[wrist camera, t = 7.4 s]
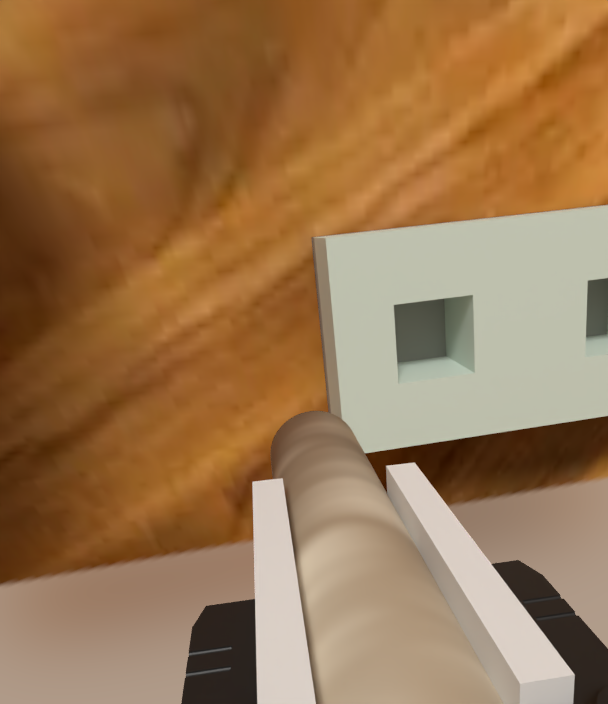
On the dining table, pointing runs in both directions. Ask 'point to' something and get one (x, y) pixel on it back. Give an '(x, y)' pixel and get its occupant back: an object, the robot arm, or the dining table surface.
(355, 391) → the hole block
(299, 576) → the birch pin
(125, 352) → the dining table surface
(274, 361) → the dining table surface
